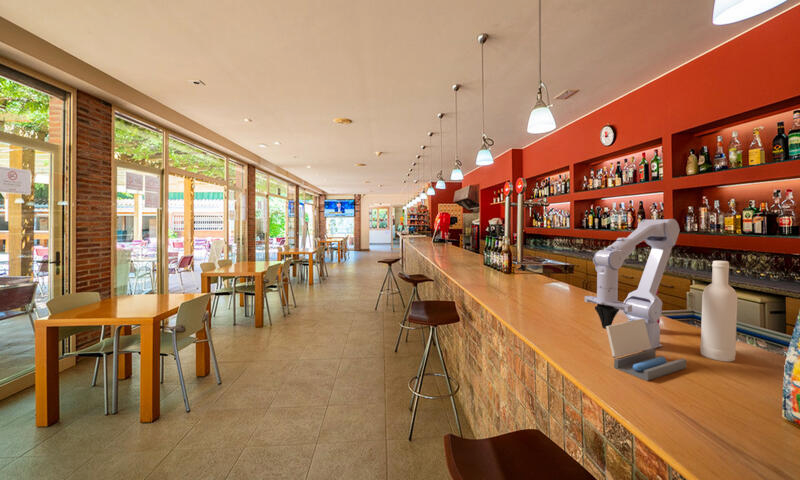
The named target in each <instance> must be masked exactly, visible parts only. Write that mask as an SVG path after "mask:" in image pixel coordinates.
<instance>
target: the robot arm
mask: <svg viewBox="0 0 800 480" xmlns="http://www.w3.org/2000/svg"><path fill="white" fill-rule="evenodd" d="M680 231H681V229H680V225H679V223H678V221H677V220H676V219H675V218H668V219H667V218H665V219H660V218H659V219H648V218H645V219H644V218H643V219H641V220H640V222H638V223H637V228H635V230H634V231H632V232H631V233H630V234H629V235H628V236H627V237H617V238H616V241H614V242H612V244H610V245H608V246H607V247H606V248H605V249H599V250H598V251H596V252H595V254H594V256H593V258H592V262H593V265H594V266H595V271H596V272H597V273H596V276H597V277H596V296H592V295H586V296H584V303H591V304H594V305H595V304H596V306H594V309H595V311H596V313H597V315H598V317H599V319H600V323H601V327H602V329H605V330H607V329H606V326H610V325H613V321H614V319H615V317H616V316H617V314H618V313H619V312H620V310H621V311H623V314H624V315H625V317H626V318H627V322H629V321H633V320H638V319H644V321H645V325H646V329H647V333H648V337H649V341H650V345H651V348H650V349H657V348H659V347H663V344H662V343H660V342H661V341H660V340H661V326H660V323H659V324H658V322H657V320H658V319H659V318H661V317H662V314H663V313H662V311H663V310H662V308H663V305H664V304H663V301H662V300H661V299H660V297H659V296H658V294H657V295H656V293H657V290H658V291H659V286H660V283H661V281H662V277H663V274H664V273H665V269H666V266H667V263H668V260H669V258H670V255H671V253H672V252H671V251H672V248H673V247H675V246H676V243H677V240H678V238H679V233H680ZM643 241H644V242H645V243H646V245H648V246H650V248H651V250H650V252H649V256H648V258H647V260H646V264H645V266H644V268H643V269H644V270H643V272H642V275H641V277H640V281H639V283H638V287H637V289H635V290H633V291H631V292H629V293H628V294H627V296H626V298H625V299H624V301H623V302H622V301H620V300H618V299H619V295H618V294H619V291H618V289H619V268H621V267H622V266H623V264H624V261H626V258H627V257H629V256H630V255H632V254H633V253H634V252H635V250H636V246H637V245H639V244H640V243H642V242H643ZM642 300H643V301H642ZM646 350H649V349H646ZM646 350H645V351H646Z"/></svg>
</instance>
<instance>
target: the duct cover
mask: <svg viewBox="0 0 800 480" xmlns="http://www.w3.org/2000/svg"><path fill="white" fill-rule="evenodd" d="M605 330H606V332H607V333H606V334H607V337H608V343H609V346H610V351H611V354H612V358H613V359H617V358H620V357H624V356H628V355H631V354H635V353H639V352H642V351H646V349H650V348H651V345H650V341H649V337H648V333H647V329H646V325H645V321H644V319H638V320H633V321H629V322H628V321H625V322H620V323H615V324H612V325H610V326H606V329H605Z"/></svg>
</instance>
